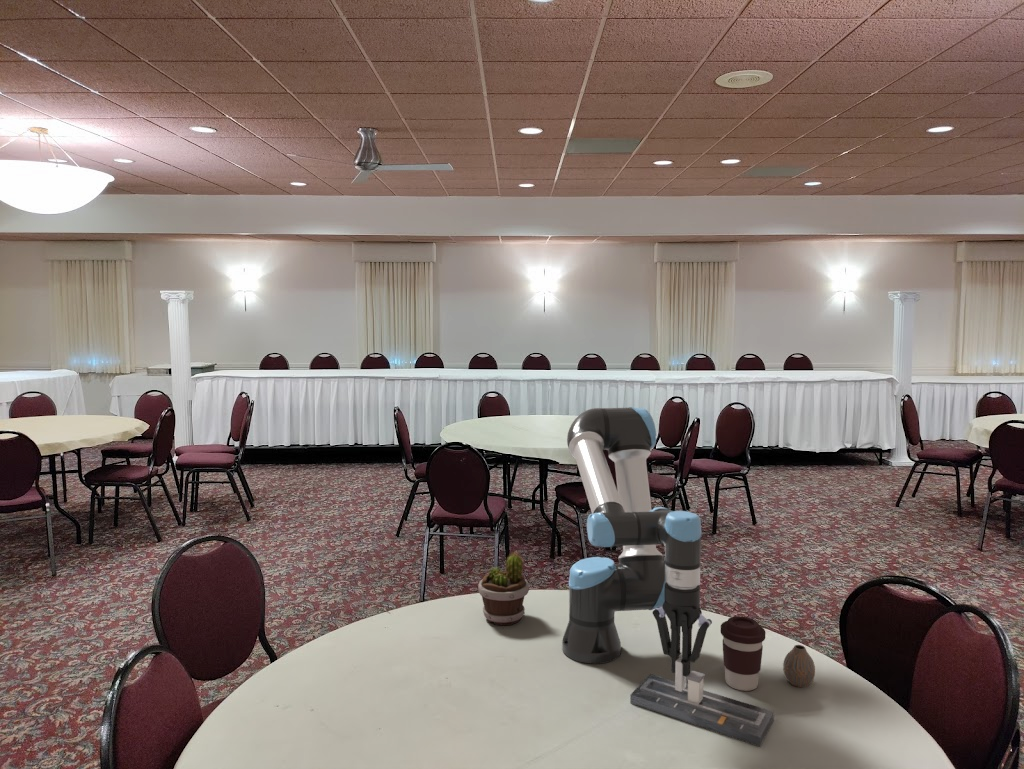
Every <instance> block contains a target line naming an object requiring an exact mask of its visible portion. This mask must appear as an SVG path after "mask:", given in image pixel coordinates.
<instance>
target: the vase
mask: <svg viewBox="0 0 1024 769" xmlns="http://www.w3.org/2000/svg"><path fill="white" fill-rule="evenodd" d="M782 665H783V666H782V667H783V669H782V670H783V674H784V676H785V678H786V680H787V682H789V683H790V685H792V686H795V687H799V688H805V687H808V686H810V685H811V684H812V683H813V681H814V679H815V676H816V666H815V662H814V660H813V658H812V657H811V655H810V654H809V653H808V651H807V648H806V646H805V645H802V644H795V645H794V646H793V647H792V649H791V650H790V651H788V653H787V654H786V655H785V657H784V660H783V663H782Z"/></svg>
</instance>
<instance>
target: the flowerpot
mask: <svg viewBox="0 0 1024 769" xmlns="http://www.w3.org/2000/svg"><path fill="white" fill-rule="evenodd" d="M516 550H517V549H515V550H514V552H513V551H511V553H509V556H507V557H506V559H505V561H504V562H503V563H505V565H506V567H504V568H503V569H504V571H503V569H502V570H501V568H499V567H498V566H496V567H492V569H490V571H489V573H488V574H485V575H484V576H483V577H482V579H481V580H480V581H479V582H478V584H477V586H478V587H477V588H478V593H479V594H480V596H481V598H482V602H483V607H482V612H483V616H484V618H486V620H487V622H488V623H494V625H495V626H496V625H497V626H499V625H500V626H508V625H509V626H511V625H514V624H516V623H519V621H520V620H521V618H523V616H524V615H525V610H526V609H525V606H524V605H523V604H524V600H525V596H527V595H528V593H529V591H530V590H531V589H530V586H529V582H528V580H526V578H525V577H524V571H523V570H525V569H526V568H525V561H524V559H523V556H522V555H520V554H519V551H518V552H517V551H516Z"/></svg>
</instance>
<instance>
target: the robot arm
mask: <svg viewBox="0 0 1024 769" xmlns="http://www.w3.org/2000/svg"><path fill="white" fill-rule="evenodd" d="M566 437H567V438H566V443H567V448H568V451H569V453H570V455H571V457H573V458H574V459H575V461H576V465H577V468H578V471H579V475H580V479H581V481H582V485H583V488H584V490H585V495H586V498H587V501H588V504H589V505H588V506H589V508H590V511H591V513H590V514H589V515H588V517H587V520H586V532H587V539H588V542H589V543H590V544H591V546H594V547H605V548H611V547H623V548H622V552H621V554H619V555H618V563H617V564H616V563H615V561H614V560H613V559H611V558H609V557H601V556H592V557H586V558H582V559H579V561H576V562H575V563H574V564H573V565H572V566H571V567H570V569H569V578H568V586H569V587H568V589H569V590H568V592H569V594H568V596H569V597H568V600H569V602H568V604H569V607H568V608H569V609H568V612H569V613H568V614H569V615H568V616H569V618H568V622H567V626H566V627H565V631H564V634H563V638H562V640H561V641H562V642H561V643H562V644H561V650H562V652H563V653H564V655H565V656H566V657H568V659H571V660H574V661H576V662H578V663H584V664H595V665H596V664H606V663H610V662H612V661H615V660H616V659H618V658H619V656H620V655H621V654H622V652H621V651H622V642H621V638H620V636H619V633H618V630H617V626H616V624H615V612H627V611H629V612H630V611H652V615H653V617H654V619H655V621H656V623H657V624H656V625H657V630H658V634H659V639H660V644H661V648H662V653H663V655H665V656H666V655H667V656H669V658H670V660H671V667H670V668H671V670H670V671H671V673H673V674H675V676H674V677H675V678H674V681H675V690H677V691H680V692H682V691H683V690H684V688H685V687H686V685H687V676H688V675H689V674H690V672H691V663H696V661H697V660H698V659H699V658H700V655H701V652H702V648H703V645H704V641H705V637H706V634H707V631H708V628H710V626H711V625H712V624H713V620H711V618H706V617H705V615H703V613H702V610H701V607H700V602H701V598H700V597H701V587H700V584H701V549H702V547H701V546H702V535H703V534H702V532H703V531H702V524H701V523H702V521H701V520H702V519H701V517H700V516H699V515H698V514H696V513H695V512H690V511H687V510H675V511H674V510H671V509H669V508H667V507H664V506H663V507H662V506H655V507H654V508H652V503H651V493H650V485H649V475H648V466H647V459H648V458H649V457H650V455H651V454H652V453H651V450H652V449H654V447H655V446H656V443H657V430H656V425H655V422H654V419H653V417H652V415H651V413H650V412H649V411H648V410H647V409H646V408H642V407H632V406H628V407H611V408H610V407H602V408H600V407H594V408H593V407H592V408H590V409H587V410H585V411H583V412H582V413H580V414H579V415H578V416H577V417H576V418H575V419H574V420H573V421H572V423H571V425H570V427H569V430H568V433H567V436H566ZM605 450H606V451H607V452H608V453H607V454H608V458H609V459H610V460H611V461H612V462H614V468H615V478H616V484H615V480H614V478H613V474H612V473H611V469H610V466H609V465H608V460H607V458H606V455H605V453H604V451H605ZM656 545H661V546H663V547H664V555H663V553H662V552H660V550H658V549H657V546H656ZM666 616H667V617H666ZM667 618H668V620H669V622H670V627H669V626H668V620H667ZM697 621H698V623H697V625H698V627H699V628H698V629H697V632H696V635H695V640H694V643H693V647H692V642H693V638H692V637H693V636H692V634H693V633H692V632H693V625H694V624H695V623H696V622H697ZM669 628H670V630H669ZM681 633H682V635H681ZM681 636H682V637H681ZM681 638H682V639H681ZM681 642H682V644H681ZM681 645H682V646H681ZM681 647H682V648H681Z"/></svg>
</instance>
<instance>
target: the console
mask: <svg viewBox="0 0 1024 769" xmlns="http://www.w3.org/2000/svg"><path fill="white" fill-rule="evenodd" d="M629 697H630V704H631V705H634V706H638V707H640V708H643V709H646V710H650V711H652V712H654V713H658V714H661V715H664V716H667V717H670V718H673V719H676V720H679V721H681V722H682V721H683V722H685V723H688V724H691V725H693V726H697V727H699V728H703V729H707V730H709V731H712V732H714V733H718V734H720V735H722V736H723V735H724V736H727V737H729V738H733V739H736V740H737V741H741V742H744V743H747V744H750V745H753V746H757V747H761V745H762V744H763V742H764V740H765V738H766V736H767V734H768V732H769V730H770V728H771V727H772V725H773V722H774V719H775V718H774V716H775V712H774V711H773V710H770V709H767V708H763V707H760V706H757V705H753V704H750V703H747V702H744V701H740V700H737V699H733V698H730V697H727V696H723V695H721V694H717V693H713V692H711V691H708V690H704V689H703V699H702V701H701V702H700V703H699V704H696V703H693V702H690V701H688V684H686V687H685V688H684V690H683V691H682V692H680V691H677V690H675V680H672V679H668V678H664V677H663V676H662V677H661V676H658V675H655V674H651V673H649V675H648V676H646V678H644V679H643V681H642V682H641V683H640V684H639V685H638V686H637V687H636V688H635V690H633V691H632V692H631V694H630V696H629Z"/></svg>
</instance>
